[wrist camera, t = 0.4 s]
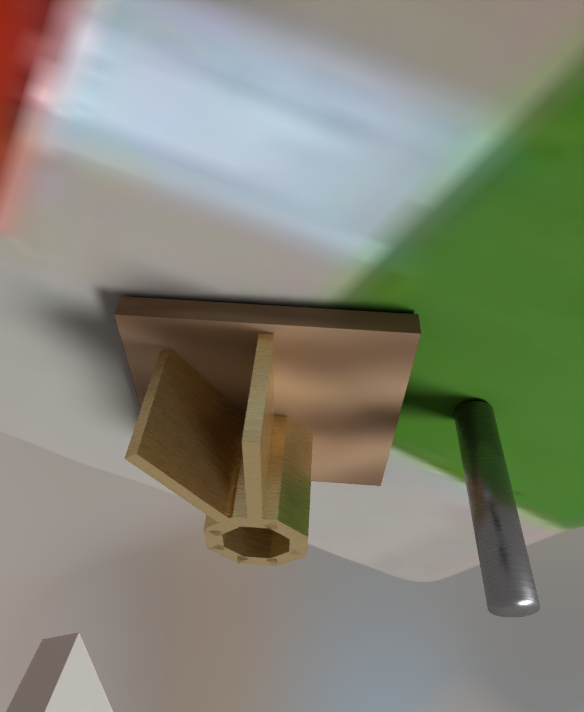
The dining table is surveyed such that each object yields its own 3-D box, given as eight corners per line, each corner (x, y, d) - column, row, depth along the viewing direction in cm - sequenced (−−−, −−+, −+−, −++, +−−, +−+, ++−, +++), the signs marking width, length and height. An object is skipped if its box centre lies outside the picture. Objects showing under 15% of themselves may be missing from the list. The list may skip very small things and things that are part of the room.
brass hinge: (153, 325, 29) (115, 432, 24) (321, 335, 29) (316, 446, 24) (182, 459, 38) (159, 557, 33) (310, 468, 38) (305, 568, 33)
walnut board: (122, 296, 30) (114, 314, 29) (418, 314, 29) (421, 333, 28) (162, 452, 41) (158, 470, 40) (379, 467, 40) (380, 485, 39)
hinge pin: (458, 399, 34) (496, 597, 26) (498, 402, 34) (547, 601, 26) (450, 423, 36) (482, 615, 27) (487, 425, 36) (530, 619, 27)
